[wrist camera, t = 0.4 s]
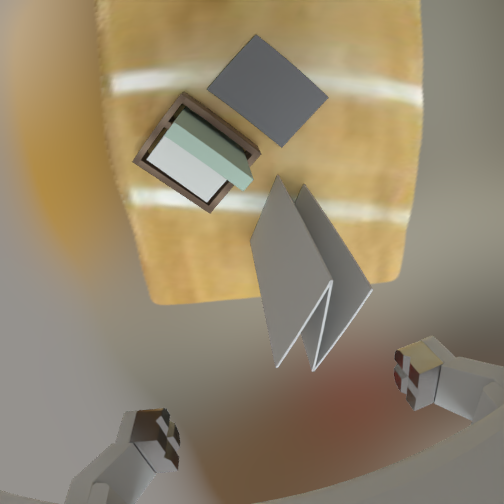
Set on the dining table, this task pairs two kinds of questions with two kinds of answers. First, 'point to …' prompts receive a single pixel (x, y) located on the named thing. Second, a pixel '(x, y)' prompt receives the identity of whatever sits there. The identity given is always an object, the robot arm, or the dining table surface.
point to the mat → (268, 91)
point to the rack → (187, 100)
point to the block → (211, 147)
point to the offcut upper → (186, 169)
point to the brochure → (304, 275)
